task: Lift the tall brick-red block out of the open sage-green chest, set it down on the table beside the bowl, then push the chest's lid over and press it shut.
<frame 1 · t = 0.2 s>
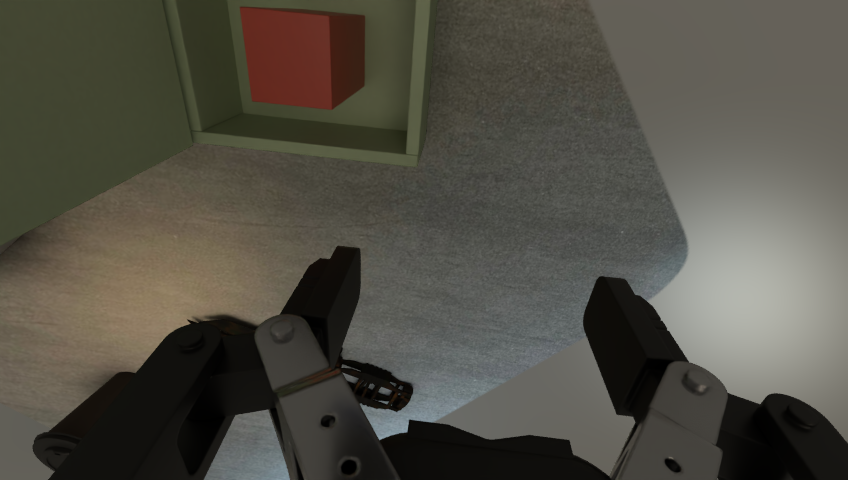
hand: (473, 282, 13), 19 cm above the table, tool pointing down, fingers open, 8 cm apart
chest: (329, 47, 27), on the table
coffee cup: (136, 385, 49), on the table
block: (333, 49, 27), point 1 cm above the table, touching chest
knife: (304, 356, 44), on the table
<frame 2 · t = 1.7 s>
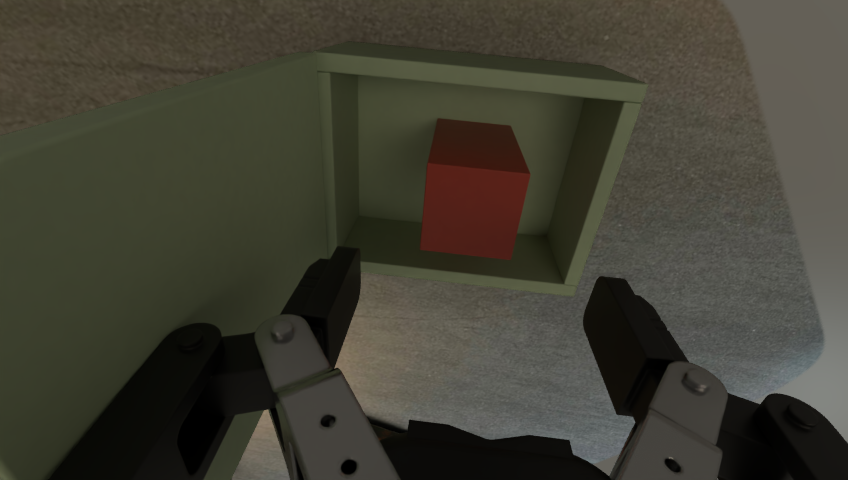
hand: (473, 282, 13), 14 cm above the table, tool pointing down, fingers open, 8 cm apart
chest: (461, 152, 25), on the table
block: (469, 157, 24), point 1 cm above the table, touching chest
lid: (180, 259, 13), point 14 cm above the table, hinge at 88.9°
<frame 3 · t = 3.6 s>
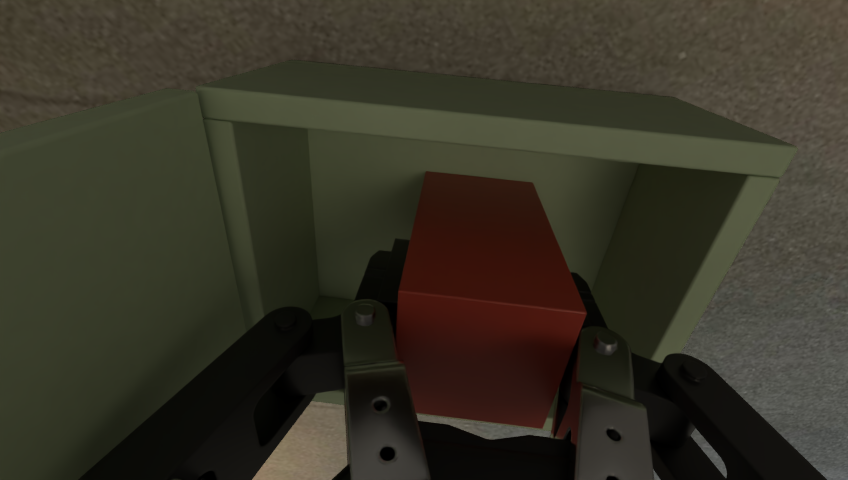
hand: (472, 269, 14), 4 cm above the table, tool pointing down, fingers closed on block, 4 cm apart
chest: (460, 214, 18), on the table
block: (471, 223, 17), point 1 cm above the table, touching chest, gripper
when the fingers open (4 cm above the table, at t = 12.8 s): block stays where it is, on the table.
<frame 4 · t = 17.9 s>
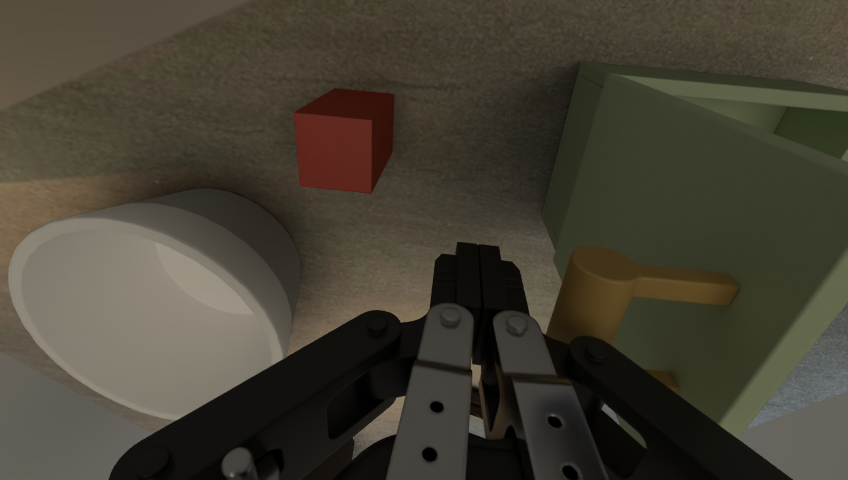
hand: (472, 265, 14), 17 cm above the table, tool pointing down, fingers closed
chest: (657, 155, 29), on the table
bowl: (229, 256, 37), on the table
coffee cup: (334, 438, 50), on the table
block: (364, 121, 29), on the table
lid: (582, 240, 17), point 14 cm above the table, hinge at 88.8°, touching gripper
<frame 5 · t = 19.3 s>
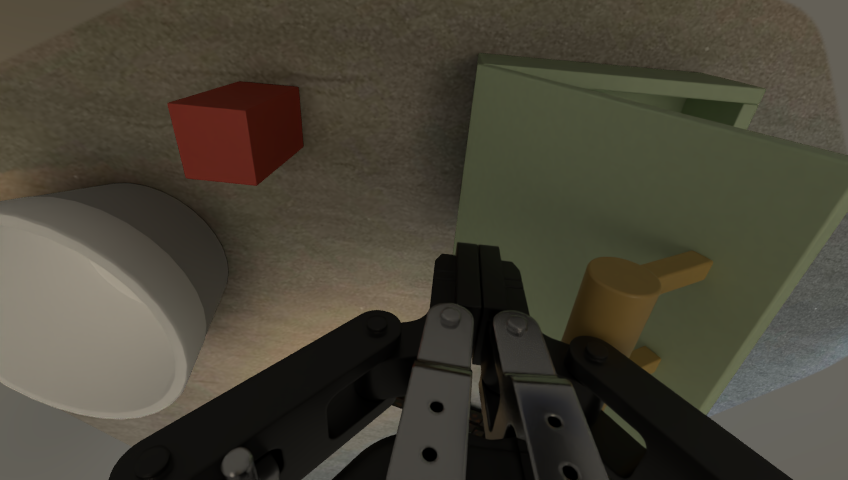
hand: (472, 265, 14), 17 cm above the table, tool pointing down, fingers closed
chest: (566, 148, 29), on the table
bowl: (156, 251, 37), on the table
block: (272, 115, 29), on the table
lid: (519, 239, 16), point 14 cm above the table, hinge at 59.3°, touching gripper
knife: (460, 413, 45), on the table
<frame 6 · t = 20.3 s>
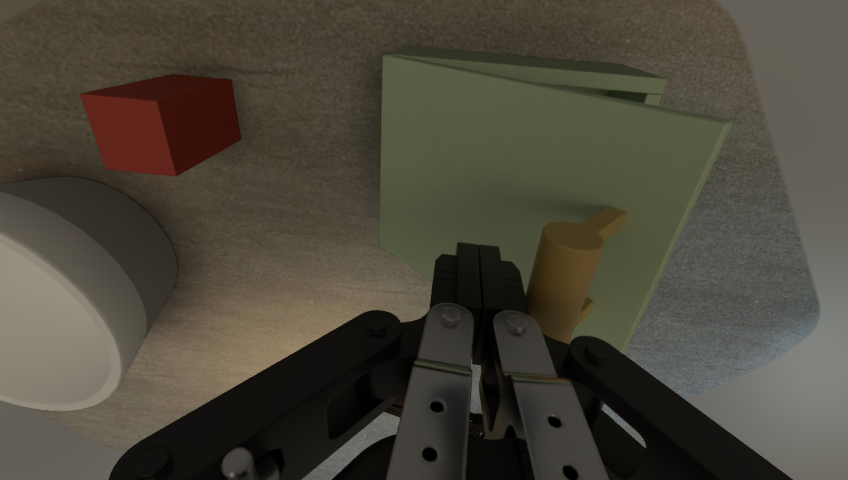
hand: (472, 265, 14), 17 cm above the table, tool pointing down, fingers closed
chest: (498, 141, 29), on the table
bowl: (105, 245, 37), on the table
block: (207, 108, 29), on the table
lid: (457, 220, 17), point 13 cm above the table, hinge at 40.6°, touching gripper
knife: (417, 407, 45), on the table
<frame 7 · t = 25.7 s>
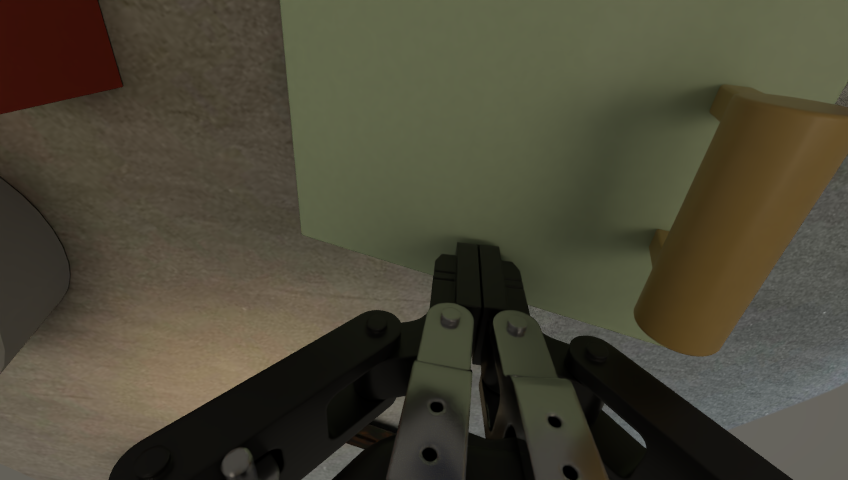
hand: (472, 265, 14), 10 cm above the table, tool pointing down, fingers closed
block: (70, 39, 21), on the table
lid: (473, 154, 11), point 11 cm above the table, hinge at 17.7°
knife: (386, 436, 37), on the table
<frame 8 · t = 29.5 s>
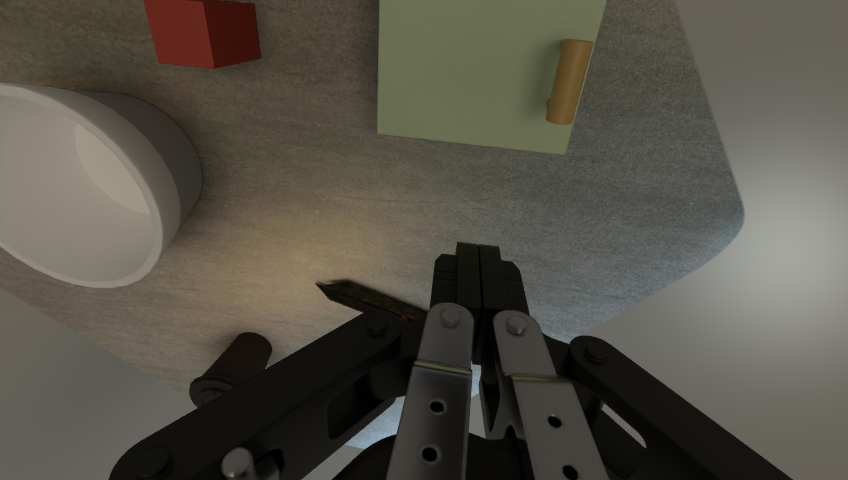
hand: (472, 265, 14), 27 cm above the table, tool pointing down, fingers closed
bowl: (141, 159, 43), on the table
coffee cup: (254, 345, 57), on the table
block: (234, 29, 36), on the table
lid: (480, 70, 27), point 9 cm above the table, hinge at 1.9°
knife: (408, 315, 52), on the table
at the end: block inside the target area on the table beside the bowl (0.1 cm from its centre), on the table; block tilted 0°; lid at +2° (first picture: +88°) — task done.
